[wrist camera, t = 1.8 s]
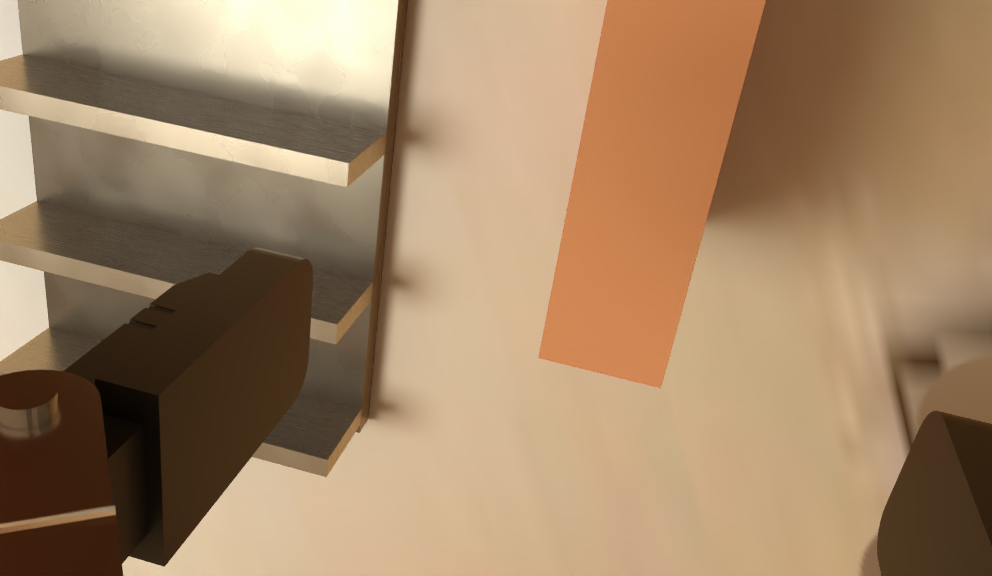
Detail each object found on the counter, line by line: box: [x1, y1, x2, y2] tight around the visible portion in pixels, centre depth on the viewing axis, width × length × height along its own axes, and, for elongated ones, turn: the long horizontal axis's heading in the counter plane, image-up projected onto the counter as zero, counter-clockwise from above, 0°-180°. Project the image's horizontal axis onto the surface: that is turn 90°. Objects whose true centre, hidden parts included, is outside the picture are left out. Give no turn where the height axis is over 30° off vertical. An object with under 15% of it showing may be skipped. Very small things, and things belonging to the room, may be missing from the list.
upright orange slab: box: [539, 0, 766, 388], centre depth 24 cm, size 10×3×11 cm, turn 172°
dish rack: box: [0, 0, 408, 477], centre depth 33 cm, size 19×14×4 cm
